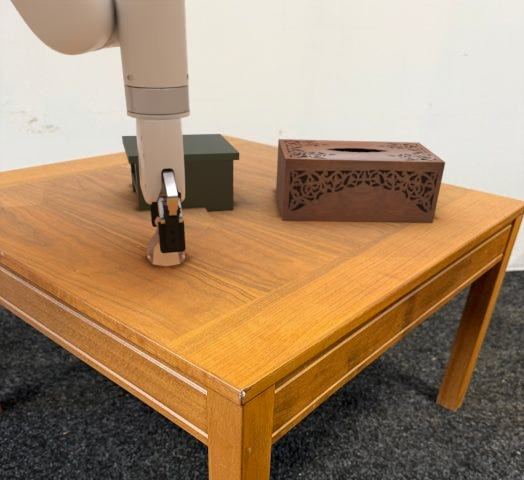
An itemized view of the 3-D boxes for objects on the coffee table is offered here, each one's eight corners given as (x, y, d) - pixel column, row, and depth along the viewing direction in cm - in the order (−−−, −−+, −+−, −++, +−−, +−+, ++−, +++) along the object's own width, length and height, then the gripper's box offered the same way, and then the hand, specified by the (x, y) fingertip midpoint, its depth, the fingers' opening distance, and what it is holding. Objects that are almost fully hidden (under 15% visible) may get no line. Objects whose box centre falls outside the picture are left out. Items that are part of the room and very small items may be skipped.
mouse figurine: (186, 248, 80) (184, 203, 76) (186, 272, 73) (184, 223, 70) (150, 249, 79) (146, 203, 76) (146, 272, 73) (142, 223, 69)
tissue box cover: (282, 220, 92) (285, 158, 86) (275, 194, 104) (278, 139, 98) (432, 222, 93) (445, 162, 88) (409, 196, 106) (418, 142, 100)
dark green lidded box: (133, 215, 91) (128, 156, 86) (127, 189, 103) (121, 135, 98) (238, 209, 96) (239, 152, 91) (220, 185, 108) (220, 133, 103)
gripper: (121, 91, 71) (134, 219, 81) (131, 115, 57) (146, 266, 67) (178, 90, 73) (185, 215, 82) (202, 113, 59) (207, 260, 68)
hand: (167, 238), depth 75 cm, fingers open, 9 cm apart
